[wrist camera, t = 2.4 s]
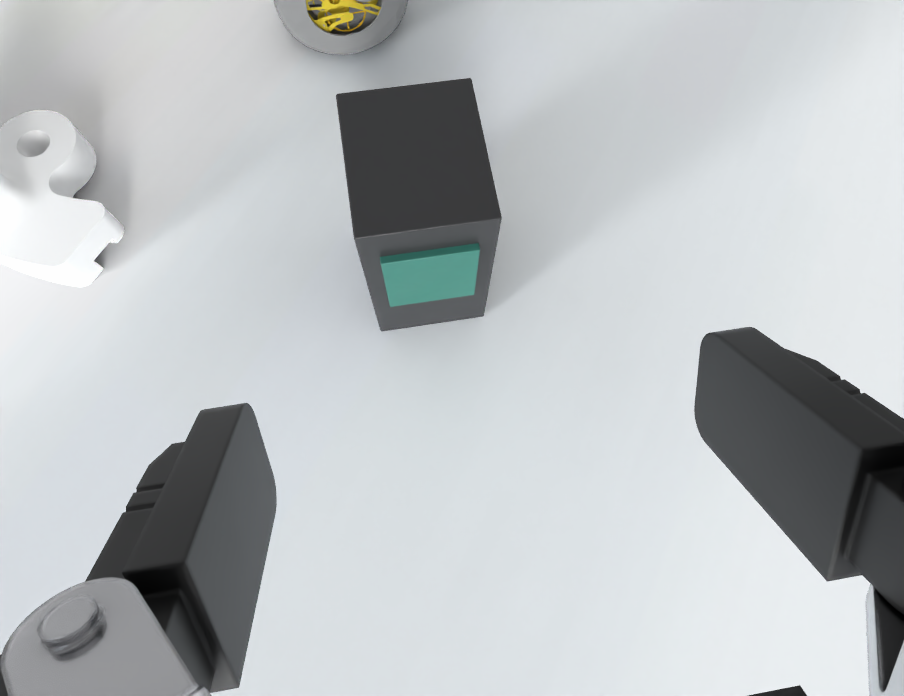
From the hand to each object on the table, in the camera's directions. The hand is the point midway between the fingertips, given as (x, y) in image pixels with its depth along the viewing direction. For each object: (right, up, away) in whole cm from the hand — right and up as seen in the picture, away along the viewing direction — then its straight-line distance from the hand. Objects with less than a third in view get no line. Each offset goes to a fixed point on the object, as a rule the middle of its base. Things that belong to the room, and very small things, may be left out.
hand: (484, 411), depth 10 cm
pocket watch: (-7, +19, +23) cm, 31 cm away
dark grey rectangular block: (-2, +5, +19) cm, 19 cm away
